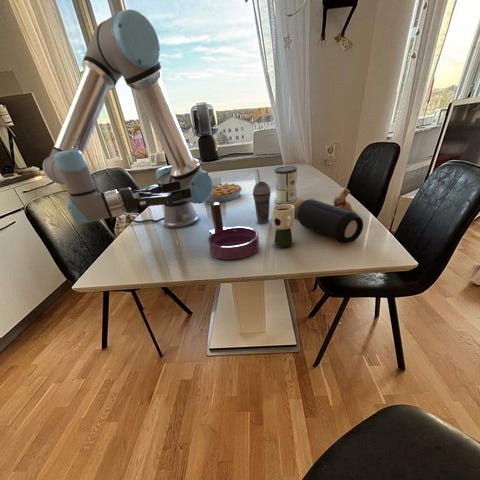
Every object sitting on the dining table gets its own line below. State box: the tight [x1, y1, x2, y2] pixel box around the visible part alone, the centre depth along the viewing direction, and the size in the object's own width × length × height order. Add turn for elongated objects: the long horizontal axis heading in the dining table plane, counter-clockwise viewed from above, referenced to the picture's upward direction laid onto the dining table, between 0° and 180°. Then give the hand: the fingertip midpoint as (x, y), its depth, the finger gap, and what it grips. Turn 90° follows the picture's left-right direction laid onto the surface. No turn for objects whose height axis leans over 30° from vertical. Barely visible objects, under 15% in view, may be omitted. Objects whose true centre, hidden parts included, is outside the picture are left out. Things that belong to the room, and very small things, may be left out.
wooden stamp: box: [208, 202, 227, 237], centre depth 107 cm, size 6×4×12 cm
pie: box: [206, 182, 243, 203], centre depth 153 cm, size 22×22×5 cm
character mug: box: [271, 203, 295, 248], centre depth 95 cm, size 11×7×13 cm, turn 19°
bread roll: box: [289, 198, 306, 219], centre depth 119 cm, size 10×10×8 cm
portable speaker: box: [296, 198, 364, 244], centre depth 100 cm, size 26×10×10 cm, turn 27°
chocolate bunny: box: [332, 187, 353, 212], centre depth 115 cm, size 6×8×10 cm
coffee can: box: [274, 165, 298, 204], centre depth 134 cm, size 10×10×14 cm
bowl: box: [208, 226, 260, 261], centre depth 98 cm, size 17×17×5 cm
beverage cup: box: [252, 169, 272, 225], centre depth 112 cm, size 7×7×20 cm
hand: (185, 188), depth 96 cm, fingers open, 13 cm apart
